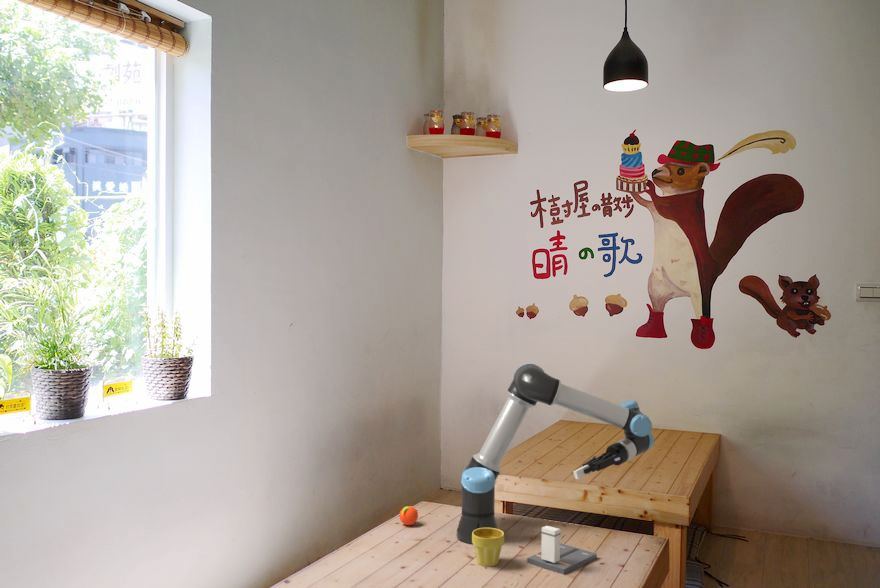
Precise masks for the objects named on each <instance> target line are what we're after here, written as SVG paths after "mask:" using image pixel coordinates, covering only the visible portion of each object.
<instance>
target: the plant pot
mask: <svg viewBox="0 0 880 588" xmlns="http://www.w3.org/2000/svg"><path fill="white" fill-rule="evenodd" d="M472 543H473V546H474V550H475V555H476V556H475V557H476V561H477V564H478V565H480V566H483V567H495V566H496V565H498V564H499V560H500V555H501V551H502V546H504V544H505V531H503V530H501V529H499V528H498V529H496V528H479V529H476V530H474V531H473V532H472Z"/></svg>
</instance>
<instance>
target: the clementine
mask: <svg viewBox="0 0 880 588" xmlns="http://www.w3.org/2000/svg"><path fill="white" fill-rule="evenodd" d="M418 518H419V513H418V510H417V509H416V508H415V507H414V506H412V505H406V506H404V507H403V508H402V509H401V510H400V511H399V520H400V522H401V523H402V524H403V525H405V526H412V525H414V524H416V522H417V521H418Z"/></svg>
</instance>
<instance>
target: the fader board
mask: <svg viewBox="0 0 880 588" xmlns="http://www.w3.org/2000/svg"><path fill="white" fill-rule="evenodd" d="M597 556H598V555H597V553H596V552H592V551H590V550H589V551H588V550H585V549H582V548H579V547H576V546H572V545H569V544H564V543H562V542H560V560H559V561H557V562H555V563H553V562H550V561H547V560H544V559H541V551H540V552H538V553H535V554H533V555H530V556H528V557H527V558H526V559H527V560H526V563H527V564H531V565H535V566H537V567H540V568H543V569H547V570H548V571H553V572H556V573H559V574H561V575H565V574H567V573H569V572H572V571H573V570H575V569H578V568H580V567H581V566H584V565H586V564H588V563H589V562H592V561H594V560H596V559H597Z"/></svg>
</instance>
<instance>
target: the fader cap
mask: <svg viewBox="0 0 880 588" xmlns="http://www.w3.org/2000/svg"><path fill="white" fill-rule="evenodd" d="M540 533H541V543H540V545H541V550H540V552H541V559H544V560H547V561H550V562H553V563H555V562H557V561H559V560H560V543H561V529H560V528H559V527H558V528H557V527H554V526H550V525H545V526H542V527H541V532H540Z"/></svg>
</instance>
